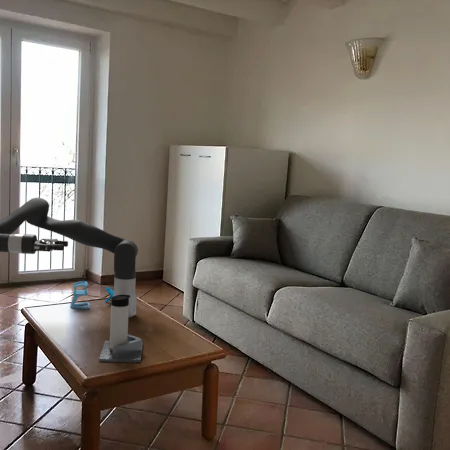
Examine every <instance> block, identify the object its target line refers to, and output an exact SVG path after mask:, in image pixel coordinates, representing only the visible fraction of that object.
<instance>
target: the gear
mask: <svg viewBox="0 0 450 450" xmlns="http://www.w3.org/2000/svg"><path fill="white" fill-rule="evenodd" d="M105 291H106V292H107V294H108V295H109V297H108V298H107V299H106V300H104V301H105V303H108V302H109V301H110V300H111V299H112V297H113V296H114V289H112V288H111V287H110V286H106V287H105Z"/></svg>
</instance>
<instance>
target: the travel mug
mask: <svg viewBox="0 0 450 450" xmlns="http://www.w3.org/2000/svg"><path fill="white" fill-rule="evenodd" d="M129 298H130V295H116V296H113V297H112V299H110V300H111V302H110V321H109V323H110V324H109V341H110V345H109V350H110V351H112V352H113V346H116V345H120V344H123V343H126V342H127V337H128V334H129V331H128V330H129V318H128V314H129Z"/></svg>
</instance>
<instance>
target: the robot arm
mask: <svg viewBox="0 0 450 450" xmlns="http://www.w3.org/2000/svg"><path fill="white" fill-rule="evenodd" d="M49 210H50V203H49V201H47V200H46V199H44V198H41V197H33V198H31V199H29V200H28V201H26V202H25V203H23V204H22V205H21V206H20V207H18V208H17V209H16V210H14V211H13V212H11V213H10V214H8V215H7V216H6V217H4V218H2V219H0V253H14V254H21V255H22V254H26V255H34V254H35V253H36V252H47V253H49V252H52V251H64V248H65V247H66V248H67V247H68V246H69V241H68V240H59V239H57V238H41V239H38V236H37V235H36V234H31V233H30V234H28V233H15V232H16V231H17V230H18V228H20V226H21V225H22V224H23V223H24V222H27V223H28V224H30V225H31V226H34V227H37V228H40V229H44V230H47V231H49V232H52V233H55V234H58V235H60V236H63V237H66V238H67V239H69V240H73V241H74V242H77V243H79V244H81V245H84V246H88V247H92V248H98V249H102V250H105V251H108V252H110V253H113V273H114V278H113V279H114V281H113V282H114V283H113V284H114V285H113V292H114V296H116V295H130V298H129V314H128V319H130V318H132V317H134V316H137V299H138V298H137V297H138V295H137V293H136V282H137V281H136V280H137V279H136V278H137V271H136V261H137V260H136V257H137V255H138V252H139V248H138V246H137V243H135V242H134V241H132V240H130V239H125V238H123V237H119V236H116V235H114V234H111V233H109V232H107V231H105V230H103V229H101V228H99V227H97V226H95V225H93V224H90V223H88V222H86V221H83V220H81V219H68V220H67V219H66V220H64V219H63V220H60V219H56V218H52V217H50V216H49Z"/></svg>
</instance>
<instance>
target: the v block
mask: <svg viewBox="0 0 450 450" xmlns="http://www.w3.org/2000/svg"><path fill="white" fill-rule="evenodd" d="M143 341H144V340H143V338H140V337H138V336H134V335H133V334H129V333H128V337H127V342H126V343H123V344H120V345H116V346H113V352H112V351H110V350H109V345H110V340H104V342H103V346H102V348H101V352H100V355H99V357H98V362H103V363H105V362H107V363H141V361H142V360H141V359H142V352H143V343H144V342H143Z"/></svg>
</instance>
